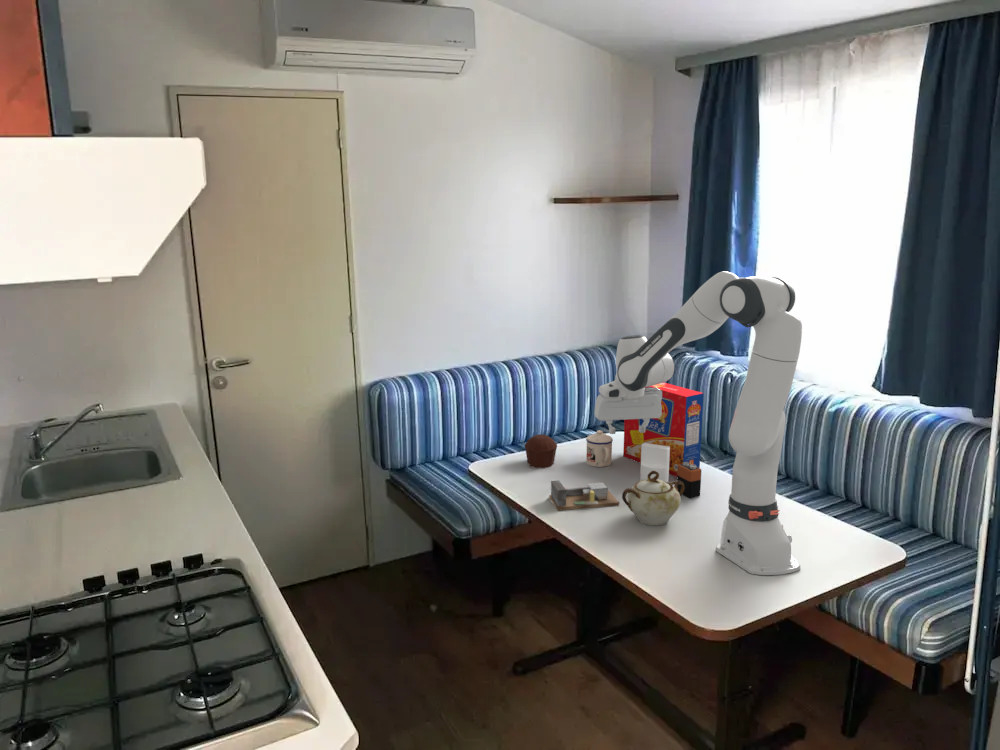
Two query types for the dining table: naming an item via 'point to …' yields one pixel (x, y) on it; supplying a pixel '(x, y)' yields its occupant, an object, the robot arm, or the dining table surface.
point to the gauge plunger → (596, 490)
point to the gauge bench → (576, 498)
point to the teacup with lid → (599, 449)
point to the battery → (689, 479)
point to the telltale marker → (592, 496)
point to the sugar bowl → (653, 499)
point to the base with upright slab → (654, 461)
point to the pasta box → (670, 427)
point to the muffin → (540, 451)
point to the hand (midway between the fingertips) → (627, 432)
